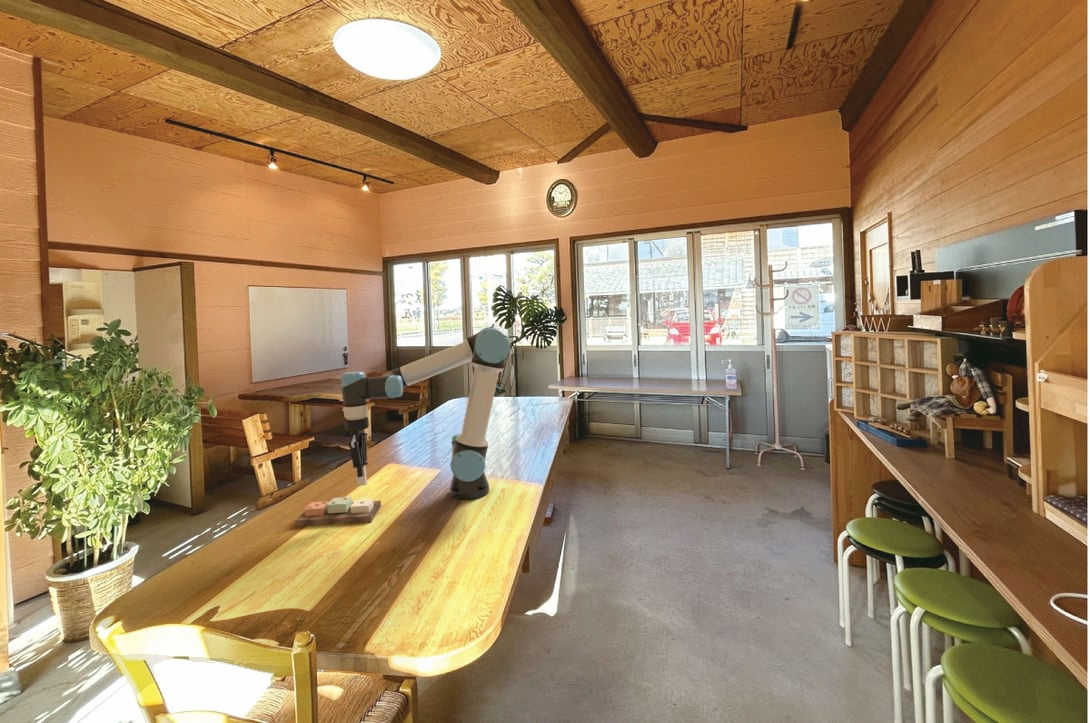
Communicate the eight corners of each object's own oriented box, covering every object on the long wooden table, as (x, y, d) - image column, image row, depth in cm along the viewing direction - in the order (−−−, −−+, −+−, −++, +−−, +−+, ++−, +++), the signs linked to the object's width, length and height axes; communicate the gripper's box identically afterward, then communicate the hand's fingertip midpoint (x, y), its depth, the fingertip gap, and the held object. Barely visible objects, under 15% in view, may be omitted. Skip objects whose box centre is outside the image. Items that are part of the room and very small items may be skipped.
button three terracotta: (329, 509, 163) (329, 501, 163) (323, 516, 157) (322, 508, 157) (312, 510, 163) (311, 502, 162) (304, 518, 157) (304, 509, 156)
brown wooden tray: (381, 506, 168) (380, 500, 168) (371, 522, 155) (370, 515, 155) (311, 510, 166) (311, 504, 166) (296, 526, 153) (295, 520, 153)
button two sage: (351, 505, 164) (351, 496, 163) (346, 512, 158) (345, 503, 157) (334, 506, 163) (333, 497, 163) (327, 513, 157) (327, 504, 157)
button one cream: (373, 506, 164) (373, 498, 164) (369, 514, 159) (368, 505, 158) (356, 508, 164) (355, 499, 164) (350, 515, 158) (350, 506, 158)
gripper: (351, 414, 164) (356, 478, 166) (338, 422, 151) (344, 492, 154) (373, 412, 165) (378, 477, 167) (362, 421, 152) (368, 490, 154)
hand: (362, 484), depth 160 cm, fingers closed
